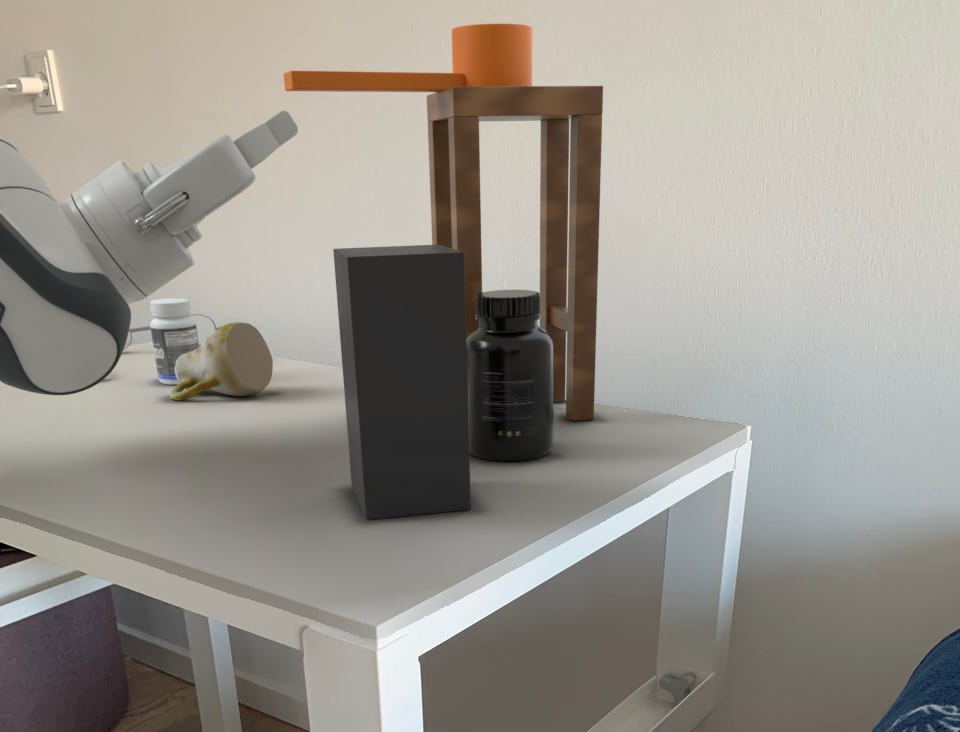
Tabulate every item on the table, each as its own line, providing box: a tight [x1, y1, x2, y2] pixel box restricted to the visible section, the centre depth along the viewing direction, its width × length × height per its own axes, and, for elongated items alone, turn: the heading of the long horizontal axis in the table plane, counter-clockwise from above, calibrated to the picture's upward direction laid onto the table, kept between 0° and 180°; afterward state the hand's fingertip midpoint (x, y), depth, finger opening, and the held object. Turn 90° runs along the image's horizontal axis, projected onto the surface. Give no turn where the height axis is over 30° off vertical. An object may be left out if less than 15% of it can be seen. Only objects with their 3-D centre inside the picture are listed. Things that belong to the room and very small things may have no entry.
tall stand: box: [426, 85, 604, 422], centre depth 86 cm, size 12×10×26 cm
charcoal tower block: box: [333, 244, 472, 521], centre depth 65 cm, size 7×7×16 cm
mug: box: [169, 321, 274, 401], centre depth 101 cm, size 8×10×10 cm
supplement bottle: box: [466, 289, 554, 462], centre depth 77 cm, size 7×7×12 cm
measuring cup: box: [283, 23, 533, 93], centre depth 78 cm, size 20×6×4 cm, turn 115°
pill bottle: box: [149, 297, 200, 386], centre depth 107 cm, size 5×5×8 cm
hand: (287, 123), depth 78 cm, fingers open, 8 cm apart
